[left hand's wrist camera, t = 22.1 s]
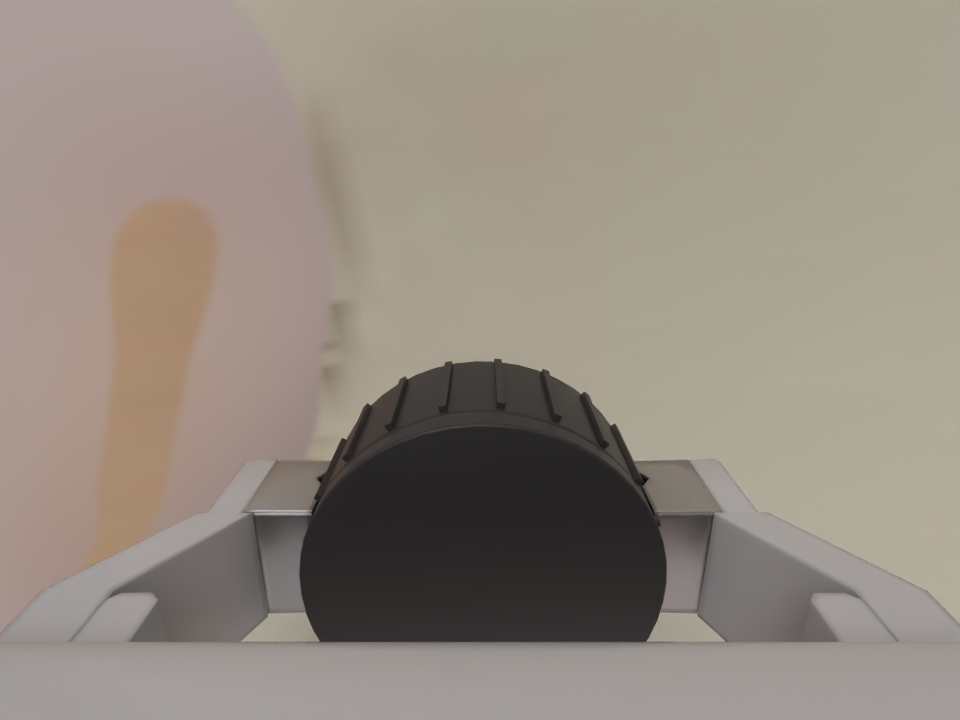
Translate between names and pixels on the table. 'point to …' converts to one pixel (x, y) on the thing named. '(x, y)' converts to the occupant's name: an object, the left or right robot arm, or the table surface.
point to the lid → (482, 518)
